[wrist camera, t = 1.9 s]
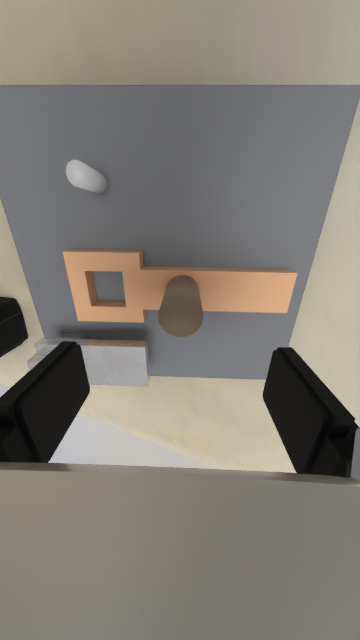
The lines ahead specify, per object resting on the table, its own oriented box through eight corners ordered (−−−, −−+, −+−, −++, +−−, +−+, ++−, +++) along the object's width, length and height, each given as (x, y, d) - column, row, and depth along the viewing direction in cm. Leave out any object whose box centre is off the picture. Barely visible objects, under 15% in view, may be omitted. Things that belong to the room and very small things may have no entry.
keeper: (64, 320, 25) (23, 352, 19) (153, 322, 25) (142, 356, 18) (73, 353, 27) (38, 393, 21) (155, 356, 27) (145, 397, 21)
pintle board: (-17, 96, 16) (-97, 47, 12) (348, 96, 16) (414, 44, 11) (62, 365, 28) (37, 393, 24) (273, 372, 27) (291, 402, 23)
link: (84, 314, 23) (41, 353, 16) (71, 249, 20) (10, 263, 13) (277, 319, 22) (316, 362, 16) (293, 253, 19) (351, 270, 13)
